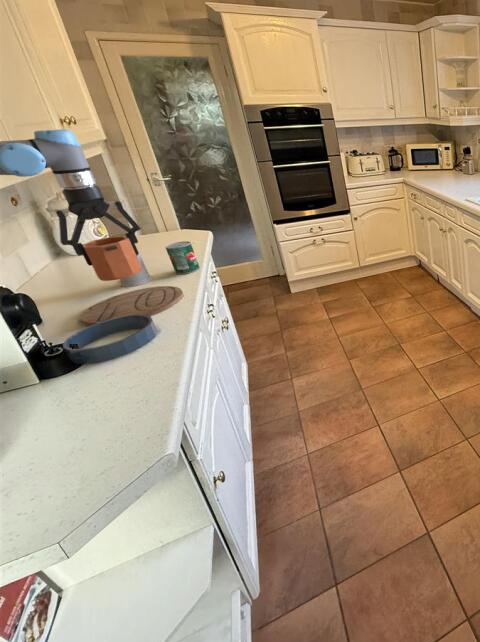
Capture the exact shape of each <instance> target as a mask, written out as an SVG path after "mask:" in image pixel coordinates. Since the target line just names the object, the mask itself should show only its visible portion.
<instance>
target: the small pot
mask: <svg viewBox="0 0 480 642" xmlns="http://www.w3.org/2000/svg"><path fill="white" fill-rule="evenodd" d="M82 245H83V247H84V249H85V251H86V253H87V255H88V257H89V259H90V261H91V263H92V265H91V267H92V269H93V271H94V273H95V276H96V277H97V278H98V280H99V281H102V282H110V281H118V280H121V279H123V278H127V277H130V276H133V275H135V274H137V273H139V272H140V271H141V269H142V267H141V265H140V262H139V260H138V258H137V256H136V253H135V251H134V249H133V247H132V244H131V242H130V240H129V238H128V237H126V235H118V236H107V237H104V238H98V239H93V240H90V241H88V242H86V243H82Z"/></svg>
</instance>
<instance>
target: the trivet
mask: <svg viewBox="0 0 480 642" xmlns="http://www.w3.org/2000/svg"><path fill="white" fill-rule="evenodd" d="M183 298H185V294H184V292H183V290H182V289H181V288H180V287H178V286H170V285H160V286H152V287H145V288H140V289H135V290H130V291H128V292H127V291H126V292H123V293H120V294H117V295H114V296H111V297H109V298H106V299H104V300H100V301H98V302H97V303H95V304H93V305H91V306H89V307H88V308H87V309H85V310H83V312H82V313H81V314H80V321H81V323H82V324H83V326H85V327H86V328H87V327H89V326H92V325H94V324H97V323H100V322H103V321H106V320H110V319H114V318H118V317H123V316H130V315H147V316H150V317H152V316H155V315H158V314H160V313H162V312H164V311H166V310H169V309H171V308H172V307H174V306H175V305H177V304H179V303H180V302H181V301H182V300H183Z"/></svg>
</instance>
